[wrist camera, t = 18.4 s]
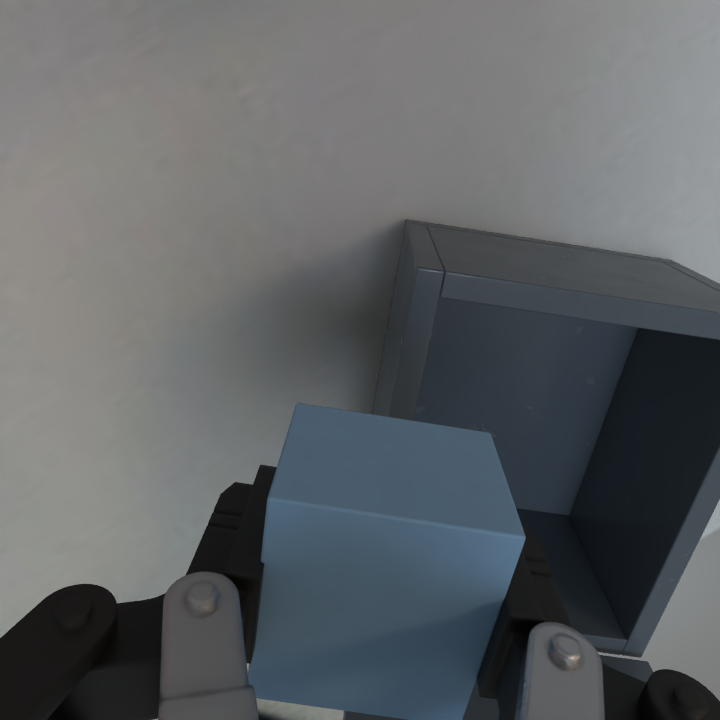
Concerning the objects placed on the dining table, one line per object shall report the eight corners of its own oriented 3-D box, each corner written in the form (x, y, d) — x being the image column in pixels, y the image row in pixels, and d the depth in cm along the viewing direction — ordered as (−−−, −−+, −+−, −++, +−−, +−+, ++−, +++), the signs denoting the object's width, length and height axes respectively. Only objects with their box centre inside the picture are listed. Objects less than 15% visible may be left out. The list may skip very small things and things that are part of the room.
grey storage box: (405, 219, 29) (416, 266, 19) (672, 260, 29) (806, 326, 20) (358, 489, 35) (350, 618, 26) (574, 519, 36) (641, 658, 27)
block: (296, 401, 13) (267, 498, 10) (491, 432, 13) (527, 538, 10) (275, 570, 15) (245, 698, 12) (443, 595, 15) (460, 728, 12)
